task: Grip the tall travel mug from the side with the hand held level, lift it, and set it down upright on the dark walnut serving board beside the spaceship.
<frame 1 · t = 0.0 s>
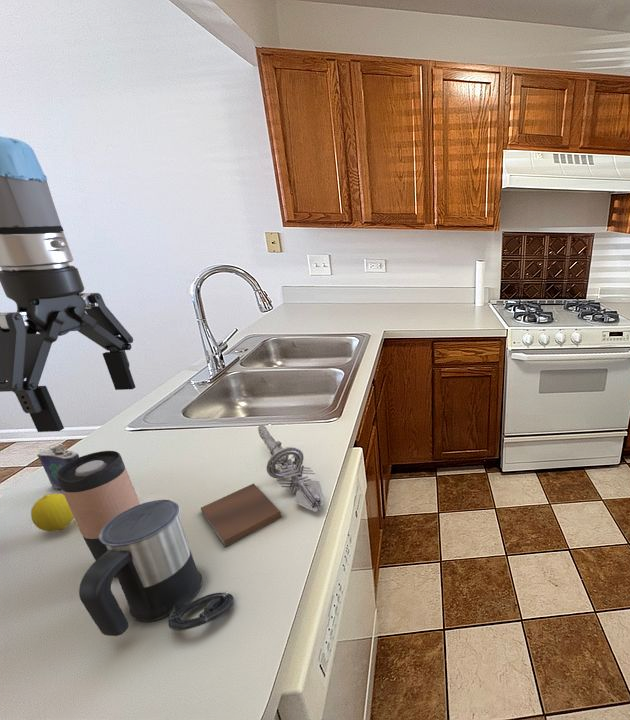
hand: (92, 407, 61), 29 cm above the table, tool pointing down, fingers open, 13 cm apart
spaceship: (288, 477, 90), on the table
flask: (74, 488, 87), on the table
lemon: (62, 530, 76), on the table
serving board: (241, 515, 79), on the table
milk frother: (185, 604, 61), on the table
travel mug: (129, 561, 69), on the table
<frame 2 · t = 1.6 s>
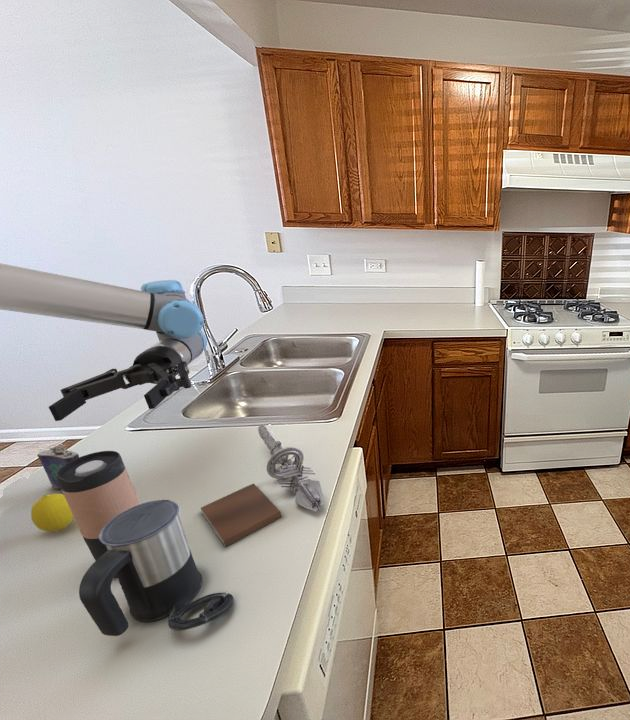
hand: (102, 407, 67), 26 cm above the table, tool horizontal, fingers open, 13 cm apart
nothing on the table moved.
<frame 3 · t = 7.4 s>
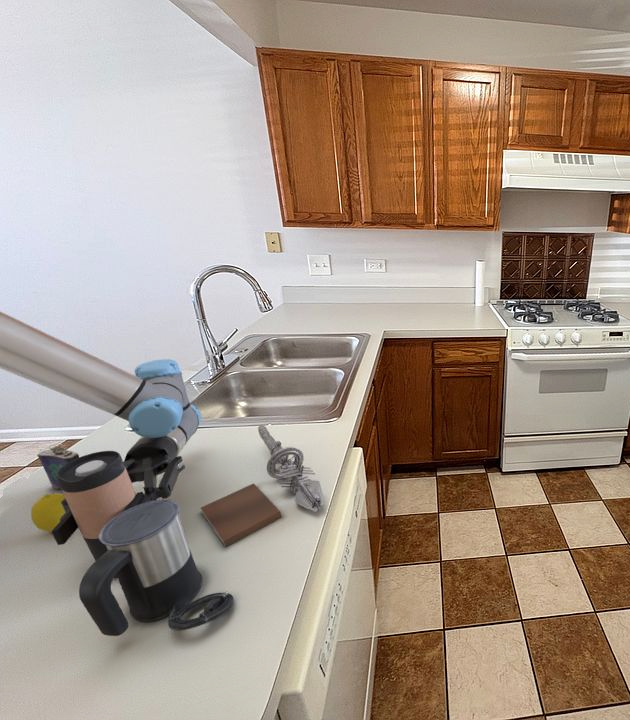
hand: (91, 531, 61), 11 cm above the table, tool horizontal, fingers closed on travel mug, 7 cm apart
travel mug: (130, 561, 69), on the table, touching gripper
everything else where it was.
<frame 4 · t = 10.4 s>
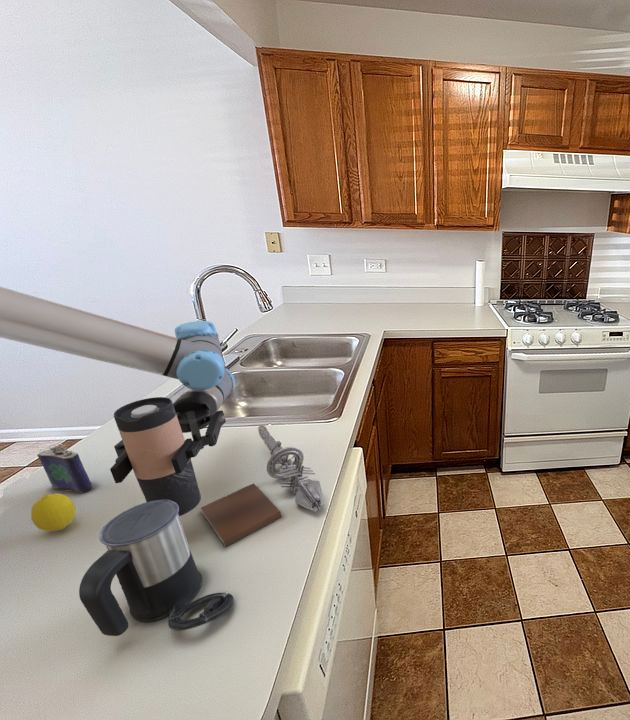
hand: (146, 470, 63), 18 cm above the table, tool horizontal, fingers closed on travel mug, 7 cm apart
travel mug: (177, 506, 71), point 7 cm above the table, touching gripper
everything else where it was.
when the fingers open (12 cm above the table, at t = 13.8 s): travel mug stays where it is, resting on serving board.
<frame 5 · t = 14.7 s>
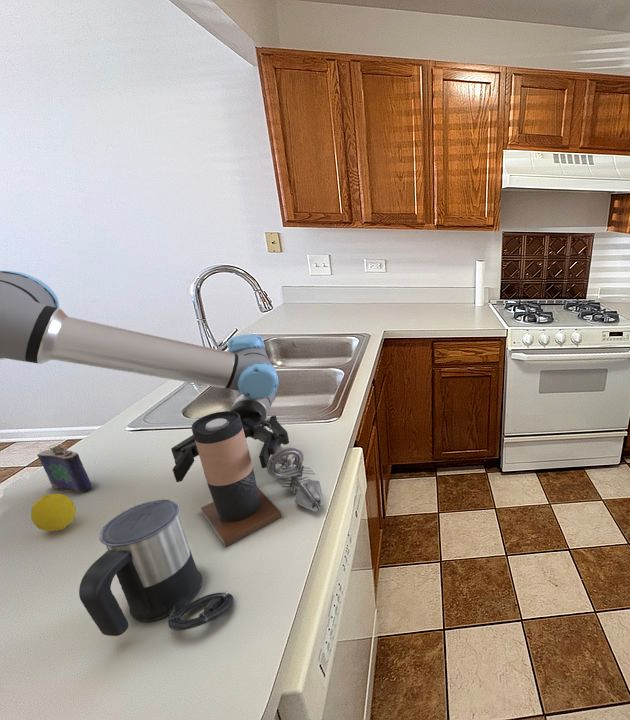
hand: (220, 468, 71), 13 cm above the table, tool horizontal, fingers open, 13 cm apart
travel mug: (240, 510, 78), point 1 cm above the table, touching serving board
everything else where it was.
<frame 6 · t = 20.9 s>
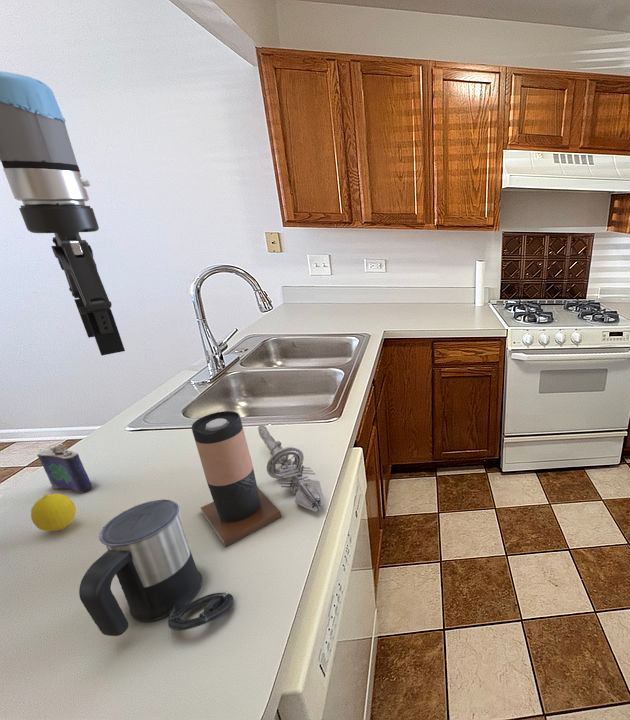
hand: (105, 343, 64), 37 cm above the table, tool pointing down, fingers open, 13 cm apart
nothing on the table moved.
at the end: travel mug inside the target area on the serving board (0.0 cm from its centre), point 1.3 cm above the serving board's base; travel mug tilted 0°; the gripper is holding nothing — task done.
